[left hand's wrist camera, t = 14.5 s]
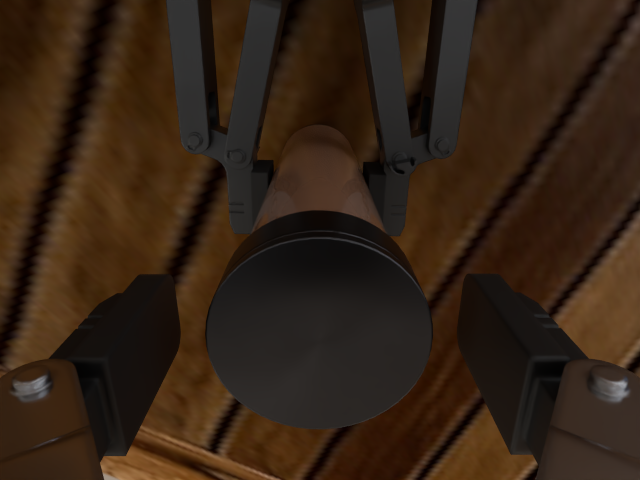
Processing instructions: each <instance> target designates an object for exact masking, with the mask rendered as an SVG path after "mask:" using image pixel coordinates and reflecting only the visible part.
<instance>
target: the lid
mask: <svg viewBox="0 0 640 480" xmlns="http://www.w3.org/2000/svg"><path fill="white" fill-rule="evenodd" d="M205 336H206V347H207V351H208V355H209V358H210V361H211V364H212V366H213V368H214V371H215V373H216V374H217V376H218V378H219V379H220V381H221V382H222V384H223V385H224V386H225V387H226V389H227V390H228V391H229V392H230V393H231V394H232V395H233V396H234V397H235V398H236V399H237V400H238V401H239V402H241V403H242V404H243V405H244V406H246V407H247V408H248V409H250V410H252V411H253V412H255V413H257V414H259V415H260V416H263V417H265V418H267V419H269V420H272V421H275V422H278V423H281V424H284V425H288V426H293V427H298V428H307V429H330V428H339V427H345V426H350V425H353V424H357V423H360V422H363V421H366V420H368V419H370V418H373V417H375V416H377V415H379V414H381V413H382V412H384V411H386V410H388V409H389V408H390V407H392V406H393V405H395V404H396V403H397V402H399V401H400V400H401V399H402V398H403V397H404V396H405V395H406V394H407V393H408V392H409V391H410V390H411V388H412V387H413V386H414V385H415V384H416V382H417V381H418V379H419V377H420V376H421V374H422V373H423V370H424V368H425V366H426V364H427V362H428V358H429V355H430V351H431V347H432V339H433V324H432V318H431V312H430V309H429V306H428V303H427V300H426V298H425V296H424V293H423V291H422V289H421V287H420V285H419V283H418V280H417V278H416V276H415V274H414V272H413V270H412V267H411V265H410V263H409V261H408V260H407V258H406V256H405V254H404V253H403V251H402V250H401V249H400V247H399V246H398V245H397V243H396V242H395V241H394V240H393V239H392V238H391V237H390V236H389V235H387V234H386V233H385V232H383V231H382V230H381V229H380V228H378V227H376V226H375V225H373V224H371V223H370V222H368V221H366V220H363V219H361V218H358V217H356V216H353V215H349V214H346V213H342V212H336V211H328V210H311V211H302V212H297V213H293V214H288V215H285V216H282V217H280V218H277V219H275V220H272V221H271V222H269V223H267V224H265V225H263V226H261V227H260V228H259V229H257V230H256V231H255V232H253V233H252V234H251V235H250V236H249V237H248V238H247V239H245V240H244V241H243V242H242V244H241V245H240V246H239V247H238V249H237V250H236V251H235V252H234V254H233V256H232V258H231V259H230V261H229V263H228V265H227V267H226V270H225V272H224V274H223V276H222V279H221V281H220V283H219V286H218V288H217V290H216V292H215V295H214V297H213V299H212V302H211V305H210V307H209V310H208V315H207V320H206V331H205Z"/></svg>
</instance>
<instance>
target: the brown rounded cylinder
mask: <svg viewBox="0 0 640 480" xmlns="http://www.w3.org/2000/svg"><path fill="white" fill-rule="evenodd" d="M311 210H328V211H336V212H342V213H346V214H349V215H353V216H356V217H358V218H361V219H363V220H366V221H368V222H370V223H371V224H373V225H375V226H376V227H378V228H380V229H381V230H382V231H383V232H385V233H386V230H385V228H384V225H383V223H382V220H381V218H380V215H379V213H378V211H377V208H376V206H375V203H374V201H373V198H372V196H371V193H370V191H369V189H368V186H367V184H366V181H365V179H364V176H363V174H362V171H361V169H360V166H359V164H358V162H357V159H356V157H355V154H354V152H353V149H352V147H351V145H350V143H349V141H348V140H347V138H346V137H345V136H344V135H343V134H342V133H340V132H339V131H338V130H336V129H334V128H332V127H329V126H326V125H310V126H306V127H304V128H302V129H300V130H298V131H297V132H295V133H294V134H293V135H292V136H291V137H290V138H289V140H288V141H287V143H286V144H285V146H284V149H283V151H282V154H281V157H280V159H279V162H278V164H277V167H276V169H275V172H274V175H273V177H272V180H271V182H270V185H269V187H268V190H267V192H266V195H265V198H264V200H263V203H262V205H261V208H260V210H259V213H258V216H257V218H256V221H255V223H254V226H253V228H252V231H251V234H252V233H253V232H255V231H256V230H257V229H259V228H260V227H261V226H263V225H265V224H267V223H269V222H271V221H272V220H275V219H277V218H280V217H282V216H285V215H288V214H293V213H297V212H302V211H311ZM251 234H250V235H251ZM386 234H387V233H386Z"/></svg>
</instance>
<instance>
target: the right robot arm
mask: <svg viewBox="0 0 640 480" xmlns="http://www.w3.org/2000/svg"><path fill="white" fill-rule="evenodd" d="M288 4H289V0H250V6H249V12H248V18H247V24H246V29H245V35H244V41H243V47H242V52H241V58H240V64H239V70H238V75H237V81H236V87H235V93H234V98H233V104H232V110H231V116H230V121H229V127H228V129H227V128H225V127H222V126H220V121H219V107H218V93H217V79H216V66H215V52H214V38H213V24H212V11H211V0H166V5H167V14H168V24H169V33H170V43H171V52H172V61H173V71H174V80H175V90H176V99H177V108H178V118H179V127H180V137H181V142H182V146H183V147H184V148H185V150H187V151H188V152H190V153H192V154H203V155H206V156H208V157H211V158H214V159H216V160H218V161H219V162H220V163H222V165H223V166H224V167H225V169H226V172H227V182H228V199H229V216H230V225H231V227H232V229H233V231H234V233H235V234H251V231H252V228H253V226H254V223H255V221H256V218H257V216H258V213H259V210H260V208H261V205H262V203H263V200H264V198H265V195H266V192H267V190H268V187H269V185H270V182H271V180H272V177H273V175H274V168H273V160H258V161H257V152H258V150H259V148H260V147H259V143H260V138H261V133H262V128H263V123H264V118H265V113H266V108H267V103H268V98H269V93H270V88H271V83H272V78H273V73H274V68H275V63H276V59H277V54H278V49H279V44H280V39H281V34H282V29H283V24H284V19H285V14H286V10H287V7H288ZM354 5H355V9H356V12H357V17H358V23H359V29H360V35H361V42H362V48H363V54H364V60H365V66H366V73H367V79H368V85H369V91H370V98H371V104H372V110H373V116H374V123H375V129H376V135H377V141H378V147H379V153H380V164H379V162H364V163H363V176H364V179H365V181H366V184H367V186H368V189H369V191H370V193H371V196H372V198H373V201H374V203H375V206H376V208H377V211H378V213H379V215H380V218H381V220H382V223H383V225H384V228H385V230H386V233H387V235H389V236H400V234H401V232H402V230H403V228H404V227H405V217H406V216H405V214H406V206H407V196H408V186H409V177H410V174H411V173H412V172H413V171H414V170H415V168H416V166H417V165H418V164H421V163H423V162H426V161H429V160H432V159H435V158H439V159H443V158H447V157H449V156H450V155H451V154H452V153H453V152H454V151H455V148H456V144H457V137H458V130H459V124H460V117H461V110H462V103H463V96H464V89H465V82H466V76H467V69H468V62H469V55H470V48H471V41H472V35H473V28H474V21H475V14H476V7H477V0H432V7H431V16H430V25H429V34H428V43H427V52H426V61H425V69H424V78H423V87H422V96H421V105H420V114H419V123H418V130H415V131H412V132H410V126H409V118H408V110H407V103H406V95H405V88H404V80H403V72H402V65H401V57H400V50H399V42H398V35H397V27H396V19H395V12H394V4H393V0H354Z"/></svg>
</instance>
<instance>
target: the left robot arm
mask: <svg viewBox="0 0 640 480" xmlns="http://www.w3.org/2000/svg"><path fill="white" fill-rule="evenodd" d="M180 334H181V331H180V322H179V314H178V307H177V300H176V292H175V285H174V280H173V278H172V276H171V275H170V274H140V275H138V276H137V277H136V278H135V280H134V281H133V282H132V283H131V284H130V285H129V286H128V288H127V289H126V290H125V291H124V292H123V293H117V294H115V295H113V296H112V297H110V298H108V299H107V300H105V301H103V302H101V303H100V304H99V305H98V306H97V307H96V308H95V309H94V310H93V311H92V312H91V313H90V314H89V315H88V319H85V320H84V321H83V322H82V323H81V324H80V325H79V326H78V329H75V331H74V332H73V333H72V334H71V335H70V336H69V337H68V338H67V339H66V340H65V341H64V342H63V344H62V345H61V346H60V347H59V348H58V349H57V350H56V351H55V352H54V353H53V354H52V355H51V357H50V358H49V359H45V360H39V361H35V362H31V363H28V364H25V365H23V366H20V367H18V368H16V369H14V370H12V371H10V372H8V373H7V374H5V375H3V376H2V377H1V378H0V480H104V477H103V473H102V469H101V465H100V462H101V460H102V458H103V456H126V454H127V452H128V450H129V448H130V446H131V444H132V442H133V440H134V438H135V436H136V434H137V432H138V430H139V428H140V426H141V424H142V422H143V420H144V418H145V416H146V414H147V412H148V410H149V408H150V406H151V404H152V402H153V400H154V398H155V396H156V394H157V392H158V390H159V388H160V386H161V384H162V382H163V380H164V378H165V376H166V374H167V372H168V370H169V368H170V366H171V364H172V362H173V360H174V358H175V356H176V354H177V351H178V348H179V344H180ZM457 338H458V345H459V349H460V351H461V354H462V356H463V358H464V360H465V362H466V364H467V366H468V368H469V370H470V372H471V374H472V376H473V378H474V380H475V382H476V384H477V386H478V388H479V390H480V392H481V394H482V396H483V398H484V401H485V403H486V405H487V407H488V409H489V411H490V413H491V415H492V417H493V419H494V421H495V423H496V425H497V427H498V429H499V431H500V433H501V435H502V437H503V439H504V441H505V443H506V445H507V447H508V450H509V452H510V454H511V455H533V456H534V458H535V460H536V461H537V463H538V465H539V469H538V473H537V477H536V480H640V378H639V377H638V376H637V375H635V374H633V373H632V372H630V371H628V370H626V369H624V368H622V367H620V366H617V365H615V364H612V363H609V362H605V361H601V360H595V359H589V358H588V357H587V356H586V355H585V354H584V353H583V352H582V351H581V350H580V349H579V347H578V346H577V345H576V344H575V343H574V342H573V341H572V340H571V339H570V338H569V336H568V335H567V334H566V333H565V332H564V331H563V330H562V329H561V328H559V327H558V324H557V323H556V322H555V321H554V320H553V319H552V318H549V315H548V314H547V312H546V311H545V310H544V309H543V308H542V307H541V306H540V305H539V304H538V303H537V302H535V301H534V300H532V299H530V298H528V297H527V296H525V295H523V294H522V293H514V291H513V290H512V289H511V288H510V287H509V286H508V284H507V283H506V282H505V281H504V280H503V278H502V277H501V276H500V275H499V274H467V275H466V276H465V279H464V282H463V289H462V297H461V304H460V311H459V319H458V327H457Z"/></svg>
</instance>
